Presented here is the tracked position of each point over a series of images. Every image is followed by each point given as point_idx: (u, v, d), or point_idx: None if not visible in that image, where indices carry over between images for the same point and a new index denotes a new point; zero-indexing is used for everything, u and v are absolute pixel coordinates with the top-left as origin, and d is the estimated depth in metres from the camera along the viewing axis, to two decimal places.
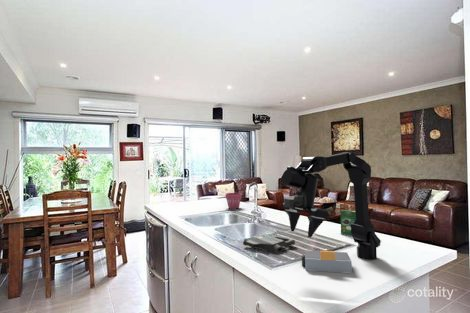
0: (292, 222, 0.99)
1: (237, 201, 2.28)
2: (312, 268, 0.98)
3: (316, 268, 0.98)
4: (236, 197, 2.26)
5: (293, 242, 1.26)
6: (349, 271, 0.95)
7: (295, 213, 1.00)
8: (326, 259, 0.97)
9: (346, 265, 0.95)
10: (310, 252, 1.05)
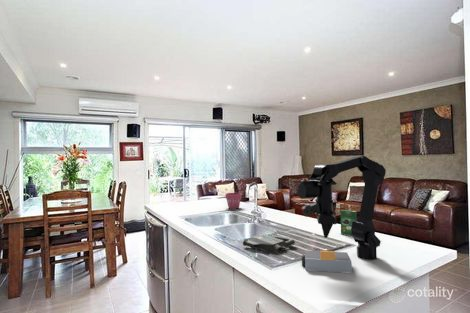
0: None
1: (237, 201, 2.28)
2: (312, 268, 0.98)
3: (316, 268, 0.98)
4: (236, 197, 2.26)
5: (293, 242, 1.26)
6: (349, 271, 0.95)
7: None
8: (326, 259, 0.97)
9: (346, 265, 0.95)
10: (310, 252, 1.05)
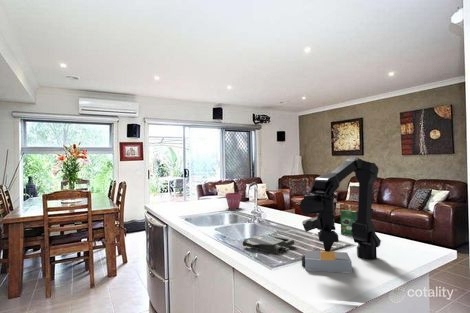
0: None
1: (237, 201, 2.28)
2: (312, 268, 0.98)
3: (316, 268, 0.98)
4: (236, 197, 2.26)
5: (293, 242, 1.26)
6: (349, 271, 0.95)
7: None
8: (326, 259, 0.97)
9: (346, 265, 0.95)
10: (310, 252, 1.05)
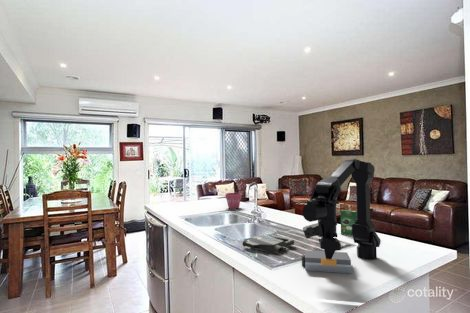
0: None
1: (237, 201, 2.28)
2: (312, 270, 0.97)
3: (316, 269, 0.97)
4: (236, 197, 2.26)
5: (292, 242, 1.26)
6: (349, 272, 0.95)
7: None
8: (327, 265, 0.94)
9: (347, 269, 0.94)
10: (310, 252, 1.05)
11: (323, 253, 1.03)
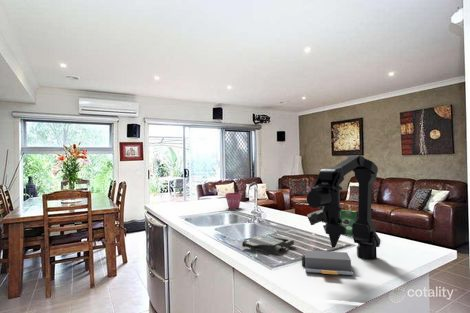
0: None
1: (237, 201, 2.28)
2: None
3: None
4: (236, 197, 2.26)
5: (292, 242, 1.26)
6: None
7: None
8: None
9: None
10: (310, 252, 1.05)
11: (323, 253, 1.03)
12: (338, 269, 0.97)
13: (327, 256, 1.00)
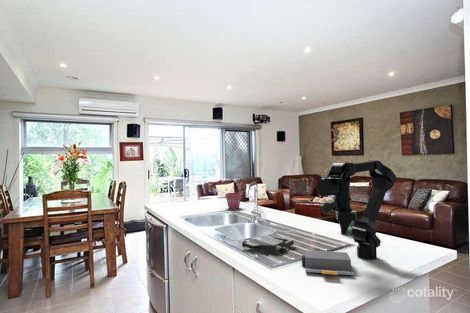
0: None
1: (237, 201, 2.28)
2: None
3: None
4: (236, 197, 2.26)
5: (292, 242, 1.26)
6: None
7: None
8: None
9: None
10: (310, 252, 1.05)
11: (323, 253, 1.03)
12: (338, 269, 0.97)
13: (327, 256, 1.00)
